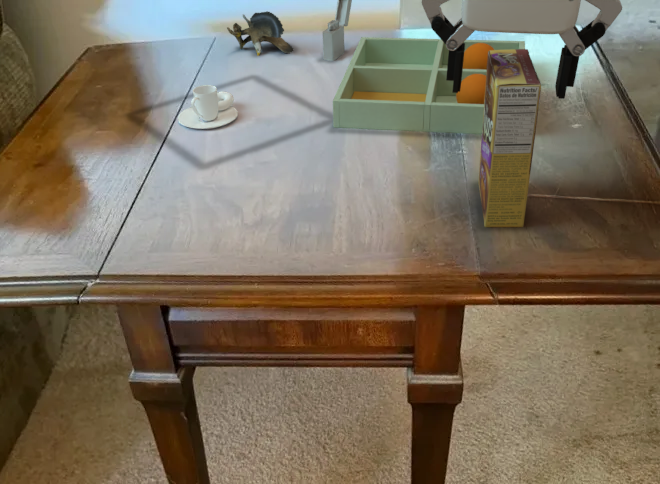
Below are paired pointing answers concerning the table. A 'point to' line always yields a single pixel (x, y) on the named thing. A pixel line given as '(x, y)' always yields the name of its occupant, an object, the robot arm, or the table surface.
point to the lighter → (336, 32)
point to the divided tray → (407, 87)
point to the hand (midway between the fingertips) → (507, 90)
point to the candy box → (508, 136)
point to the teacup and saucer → (208, 108)
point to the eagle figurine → (262, 32)
